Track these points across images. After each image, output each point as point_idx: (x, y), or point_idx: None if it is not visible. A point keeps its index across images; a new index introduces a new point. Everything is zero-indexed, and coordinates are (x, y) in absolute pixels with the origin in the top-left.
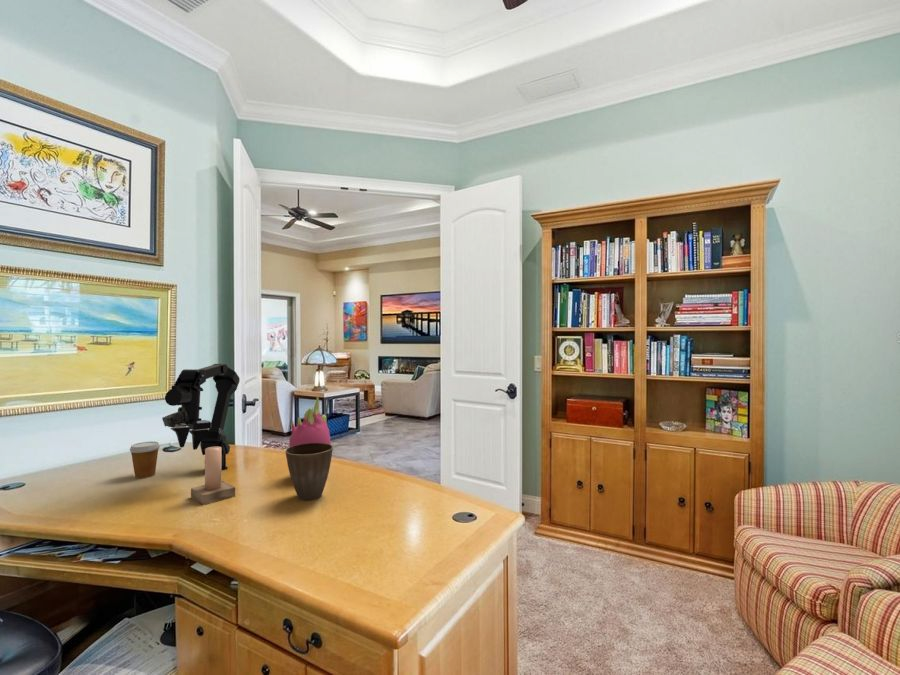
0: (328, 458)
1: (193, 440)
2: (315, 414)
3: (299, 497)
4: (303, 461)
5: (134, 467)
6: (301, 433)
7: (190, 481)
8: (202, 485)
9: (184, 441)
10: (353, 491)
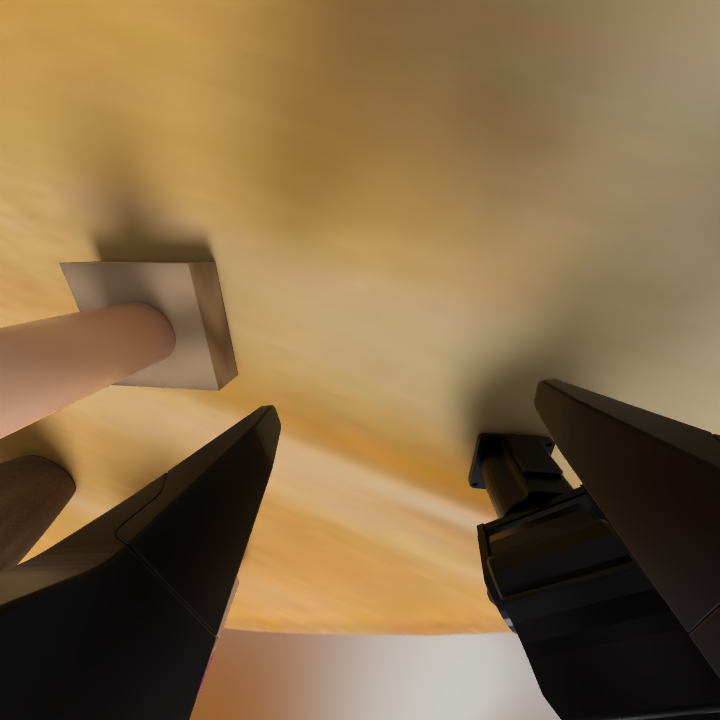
0: None
1: (171, 472)
2: None
3: (24, 458)
4: None
5: None
6: None
7: (434, 338)
8: (199, 314)
9: (575, 456)
10: (45, 534)
